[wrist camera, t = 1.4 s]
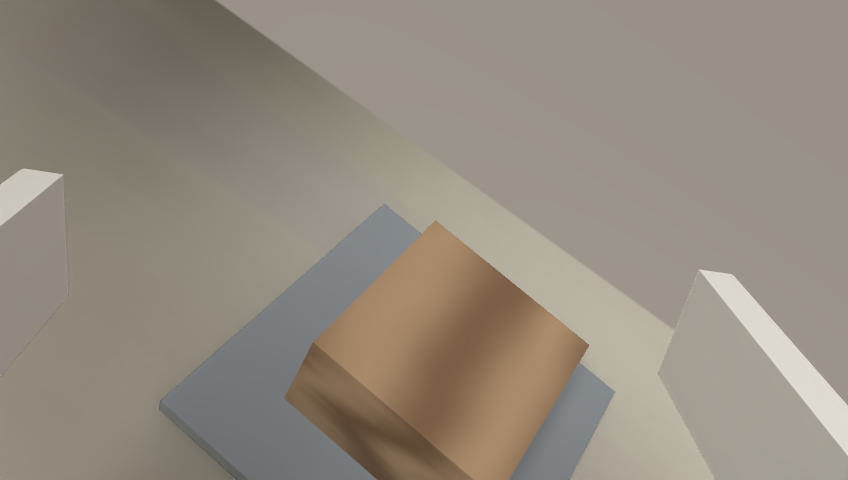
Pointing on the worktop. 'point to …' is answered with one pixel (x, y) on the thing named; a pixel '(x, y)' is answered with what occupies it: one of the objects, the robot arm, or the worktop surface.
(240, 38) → the worktop surface
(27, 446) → the worktop surface
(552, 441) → the base board
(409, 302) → the walnut plinth
